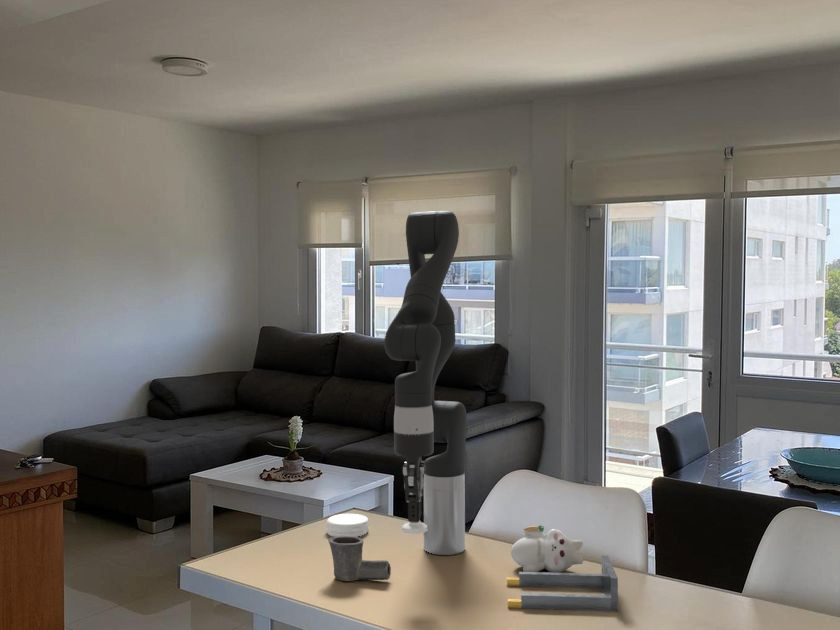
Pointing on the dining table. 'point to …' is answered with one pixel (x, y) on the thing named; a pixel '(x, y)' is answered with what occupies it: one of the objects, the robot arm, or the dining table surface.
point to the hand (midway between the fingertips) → (414, 518)
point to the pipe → (355, 561)
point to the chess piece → (414, 526)
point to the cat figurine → (546, 550)
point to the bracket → (573, 580)
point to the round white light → (347, 525)
